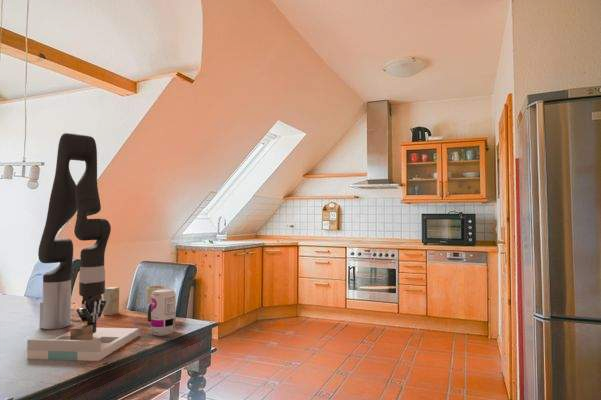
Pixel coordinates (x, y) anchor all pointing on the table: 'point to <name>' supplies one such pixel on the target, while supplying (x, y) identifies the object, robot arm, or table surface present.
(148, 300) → the character mug
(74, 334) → the walnut block
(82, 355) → the board
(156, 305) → the supplement can
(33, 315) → the table surface
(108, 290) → the box
